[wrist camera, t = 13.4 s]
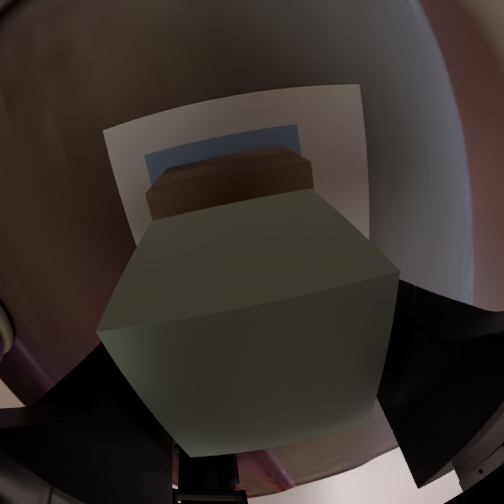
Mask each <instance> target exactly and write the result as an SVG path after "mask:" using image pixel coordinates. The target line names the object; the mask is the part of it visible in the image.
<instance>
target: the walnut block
mask: <svg viewBox="0 0 504 504" xmlns="http://www.w3.org/2000/svg"><path fill="white" fill-rule="evenodd" d="M311 188H312V189H313V190H314V185H313V175H312V165H311V161H309V160H307V159H305V158H304V157H302V156H300V155H298V154H296V153H294V152H292V151H291V150H289V149H287V148H285V147H283V146H279V147H272V148H266V149H260V150H253V151H248V152H242V153H236V154H231V155H226V156H220V157H215V158H210V159H206V160H201V161H196V162H192V163H187V164H183V165H179V166H174V167H170V168H167V169H166V170H165V171H164V173H163V174H162V175H161V176H160V177H159V178H158V179H157V180H156V182H155V183H154V184H153V185H152V186H151V187H150V188H149V190H148V191H147V192H146V193H145V196H146V199H147V203H148V206H149V210H150V213H151V217H152V220H153V221H154V220H159V219H163V218H167V217H171V216H175V215H180V214H184V213H189V212H193V211H197V210H202V209H207V208H211V207H216V206H221V205H225V204H230V203H235V202H240V201H245V200H250V199H255V198H260V197H266V196H271V195H276V194H282V193H287V192H293V191H299V190H305V189H311Z"/></svg>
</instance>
